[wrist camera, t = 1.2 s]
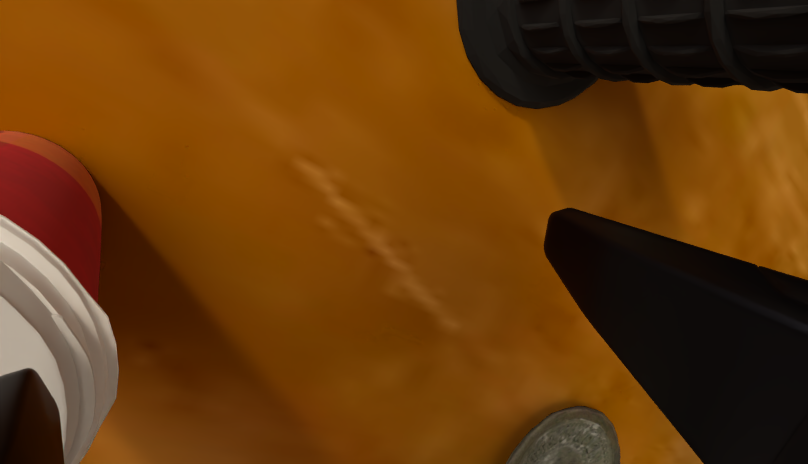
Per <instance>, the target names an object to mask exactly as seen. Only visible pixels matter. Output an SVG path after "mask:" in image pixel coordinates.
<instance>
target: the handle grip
mask: <svg viewBox="0 0 808 464" xmlns="http://www.w3.org/2000/svg"><path fill="white" fill-rule="evenodd" d="M457 10H458V21H459V31H460V34H461V37H462V41H463V44H464V47H465V50H466V54H467V57H468V58H469V60H470V62H471V64H472V65H473V67H474V69H475V71H476V72H477V74H478V76H479V77H480V79H481V80H482V81H483V82H484V83H485V84H486V85H487V86H488V87H489V88H490V89H491V90H492V91H493V92H494V93H495V94H496V95H497V96H499V97H501V98H503V99H505V100H507V101H509V102H511V103H513V104H514V105H516V106H522V107H528V108H534V109H539V108H545V107H551V106H557V105H560V104H562V103H565V102H567V101H569V100H571V99H573V98H575V97H576V96H578V95H579V94H580V93H582V92H583V91H584V90H586V89H587V88H588V87H590V86H591V85H592V84H594V83H595V82H596V81H597V80H598V78H600V79H604V80H609V81H614V82H617V81H626V80H630V81H632V82H636V83H650V82H654V81H658V80H661V81H663V82H666V83H668V84H670V85H692V84H697V85H700V86H703V87H718V88H724V87H728V86H732V85H744V86H746V87H748V88H750V89H751V90H760V91H774V90H778V89H781V88H785V89H788V90H790V91H793V92H796V93H807V94H808V0H457Z"/></svg>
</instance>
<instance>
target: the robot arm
mask: <svg viewBox="0 0 808 464" xmlns="http://www.w3.org/2000/svg"><path fill="white" fill-rule="evenodd" d="M544 252H545V255H546V257H547V259H548V260H549V262H550V263H551V265H552V267H553V268H554V270H555V271H556V273H557V274H558V276H559V277H560V279H561V280H562V282H563V283H564V285H565V287H566V288H567V290H568V291H569V293H570V294H571V296H572V297H573V299H574V300H575V302H576V303H577V305H578V307H579V308H580V309H581V311H582V312H583V314H584V315H585V317H586V318H587V319H588V320H589V322H590V323H591V324H592V326H593V327H594V328H595V329H596V331H597V332H598V333H599V334H600V336H601V337H602V338H603V339H604V341H605V342H606V343H607V344H608V346H609V347H610V348H611V349H612V350H613V352H614V353H615V354H616V355H617V357H618V358H619V359H620V360H621V362H622V363H623V364H624V365H625V367H626V368H627V369H628V370H629V372H630V373H631V374H632V375H633V376H634V378H635V379H636V380H637V381H638V383H639V384H640V385H641V386H642V388H643V389H644V390H645V391H646V393H647V394H648V395H649V396H650V398H651V399H652V400H653V401H654V403H655V404H656V405H657V406H658V407H659V409H660V410H661V411H662V412H663V414H664V415H665V416H666V417H667V419H668V420H669V421H670V422H671V424H672V425H673V426H674V427H675V429H676V430H677V431H678V432H679V433H680V435H681V436H682V437H683V438H684V440H685V441H686V442H687V443H688V445H689V446H690V447H691V448H692V450H693V451H694V452H695V453H696V455H697V456H698V457H699V458H700V460H701V461H702V462H703V463H704V464H808V280H805V279H802V278H799V277H795V276H792V275H788V274H785V273H782V272H778V271H775V270H772V269H769V268H765V267H762V266H759V267H758V266H757V265H755V264H752V263H749V262H746V261H742V260H739V259H736V258H733V257H729V256H726V255H723V254H720V253H716V252H713V251H710V250H707V249H703V248H700V247H697V246H694V245H690V244H687V243H684V242H681V241H677V240H674V239H671V238H668V237H664V236H661V235H658V234H655V233H651V232H648V231H645V230H642V229H638V228H635V227H632V226H629V225H625V224H622V223H619V222H616V221H612V220H609V219H606V218H603V217H599V216H596V215H593V214H590V213H586V212H583V211H580V210H577V209H573V208H566V209H562V210H559V211H556V212H553V213H552V214H551V215H550V217H549V219H548V224H547V230H546V235H545V241H544ZM0 464H64V453H63V443H62V432H61V421H60V414H59V409H58V406H57V404H56V402H55V400H54V398H53V397H52V395H51V393H50V392H49V390H48V389H47V387H46V385H45V384H44V382H43V381H42V379H41V377H40V376H39V374H38V373H37V372H36V371H35V370H34V369H32V368H25V369H21V370H18V371H15V372H11V373H8V374H5V375H2V376H0Z"/></svg>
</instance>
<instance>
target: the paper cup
mask: <svg viewBox="0 0 808 464" xmlns="http://www.w3.org/2000/svg"><path fill="white" fill-rule="evenodd" d="M101 233H102V211H101V202H100V197H99V193H98V190H97V187H96V185H95V183H94V181H93V179H92V177H91V176H90V174H89V172H88V171H87V170H86V168H85V167H84V166H83V165H82V164H81V163H80V162H79V161H78V160H77V159H76V158H75V157H74V156H73V155H72V154H70V153H69V152H68V151H66V150H65V149H63V148H62V147H60V146H58V145H57V144H55V143H53V142H51V141H48V140H46V139H43V138H41V137H38V136H34V135H31V134H27V133H21V132H14V131H0V376H2V375H5V374H8V373H11V372H15V371H18V370H21V369H25V368H32V369H34V370H35V371H36V372H37V373H38V374H39V376H40V377H41V379H42V381H43V382H44V384H45V385H46V387H47V389H48V390H49V392H50V393H51V395H52V397H53V398H54V400H55V402H56V404H57V406H58V409H59V414H60V421H61V432H62V443H63V453H64V464H79V463H80V461H81V460H82V459H83V457H84V456H85V454H86V453H87V452H88V450H89V448H90V446H91V444H92V442H93V440H94V438H95V436H96V434H97V432H98V430H99V428H100V426H101V424H102V422H103V421H104V419H105V417H106V415H107V414H108V412H109V410H110V409H111V407H112V405H113V403H114V402H115V400H116V394H117V384H118V374H119V366H118V356H117V346H116V341H115V337H114V334H113V331H112V328H111V324H110V321H109V318H108V315H107V314H106V313H105V312H104V311H103V309H102V308H101V307H100V306H99V305H98V290H99V274H100V255H101Z"/></svg>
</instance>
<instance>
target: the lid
mask: <svg viewBox="0 0 808 464" xmlns="http://www.w3.org/2000/svg"><path fill="white" fill-rule="evenodd" d="M506 464H620V447H619V444H618V438H617V434H616V431H615V428H614V426H613V424H612V423H611V421H610V420H609V419H608V418H607V417H606V416H605V415H604V414H603V413H602V412H600V411H598V410H595V409H591V408H588V407H585V406H575V407H570V408H566V409H563V410H560V411H557V412H554V413H551V414H550V415H548V416H547V417H546V418H545V419H543V420H542V421H541V422H540V423H539V424H538V425H536V426H535V427H534V428H532V429H531V430H530V431H529V433H528V434H527V435H526V436H525V437H524V438H523V439H522V441H521V442H520V443H519V444H518V446H517V447H516V448H515V449H514V451H513V452H512V454H511V455H510V457H509V459H508V461H507V462H506Z"/></svg>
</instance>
